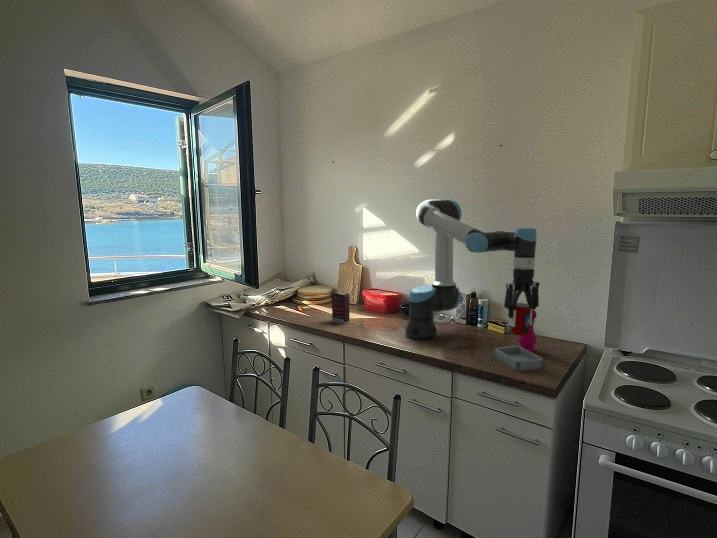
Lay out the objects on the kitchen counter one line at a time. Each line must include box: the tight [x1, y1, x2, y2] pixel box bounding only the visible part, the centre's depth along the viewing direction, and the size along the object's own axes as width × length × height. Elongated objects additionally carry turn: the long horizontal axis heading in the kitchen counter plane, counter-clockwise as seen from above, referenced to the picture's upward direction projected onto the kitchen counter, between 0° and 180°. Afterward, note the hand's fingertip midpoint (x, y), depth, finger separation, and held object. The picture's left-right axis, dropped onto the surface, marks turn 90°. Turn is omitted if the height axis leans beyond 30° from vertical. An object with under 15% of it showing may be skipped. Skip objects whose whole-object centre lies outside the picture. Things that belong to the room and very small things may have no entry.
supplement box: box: [331, 291, 351, 325], centre depth 218 cm, size 9×5×16 cm, turn 56°
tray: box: [492, 345, 546, 372], centre depth 164 cm, size 16×12×4 cm
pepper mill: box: [517, 309, 538, 353], centre depth 176 cm, size 7×7×20 cm
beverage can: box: [510, 302, 531, 337], centre depth 161 cm, size 7×7×12 cm
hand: (520, 324), depth 161 cm, fingers closed on beverage can, 7 cm apart
